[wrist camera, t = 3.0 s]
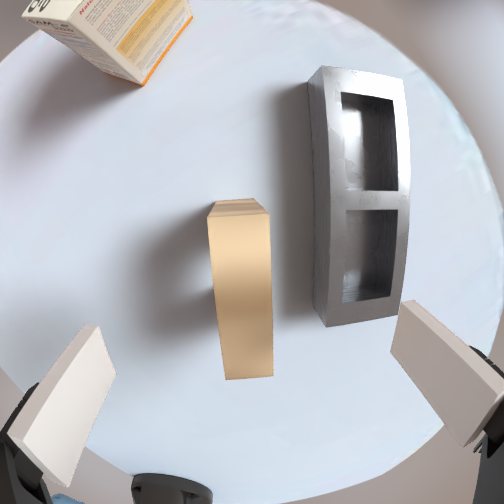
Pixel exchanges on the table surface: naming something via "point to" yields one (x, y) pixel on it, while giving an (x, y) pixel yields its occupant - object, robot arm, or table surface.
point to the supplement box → (114, 31)
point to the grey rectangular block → (358, 194)
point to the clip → (242, 286)
